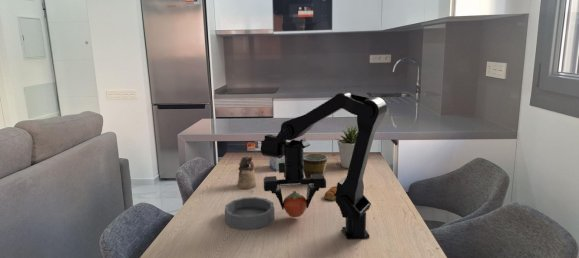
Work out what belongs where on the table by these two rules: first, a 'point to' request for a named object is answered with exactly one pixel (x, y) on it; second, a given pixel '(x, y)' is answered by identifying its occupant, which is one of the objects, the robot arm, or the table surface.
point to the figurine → (246, 174)
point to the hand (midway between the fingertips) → (294, 208)
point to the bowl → (249, 213)
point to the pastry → (331, 193)
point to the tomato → (295, 204)
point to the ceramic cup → (314, 164)
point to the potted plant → (347, 146)
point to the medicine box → (276, 162)
